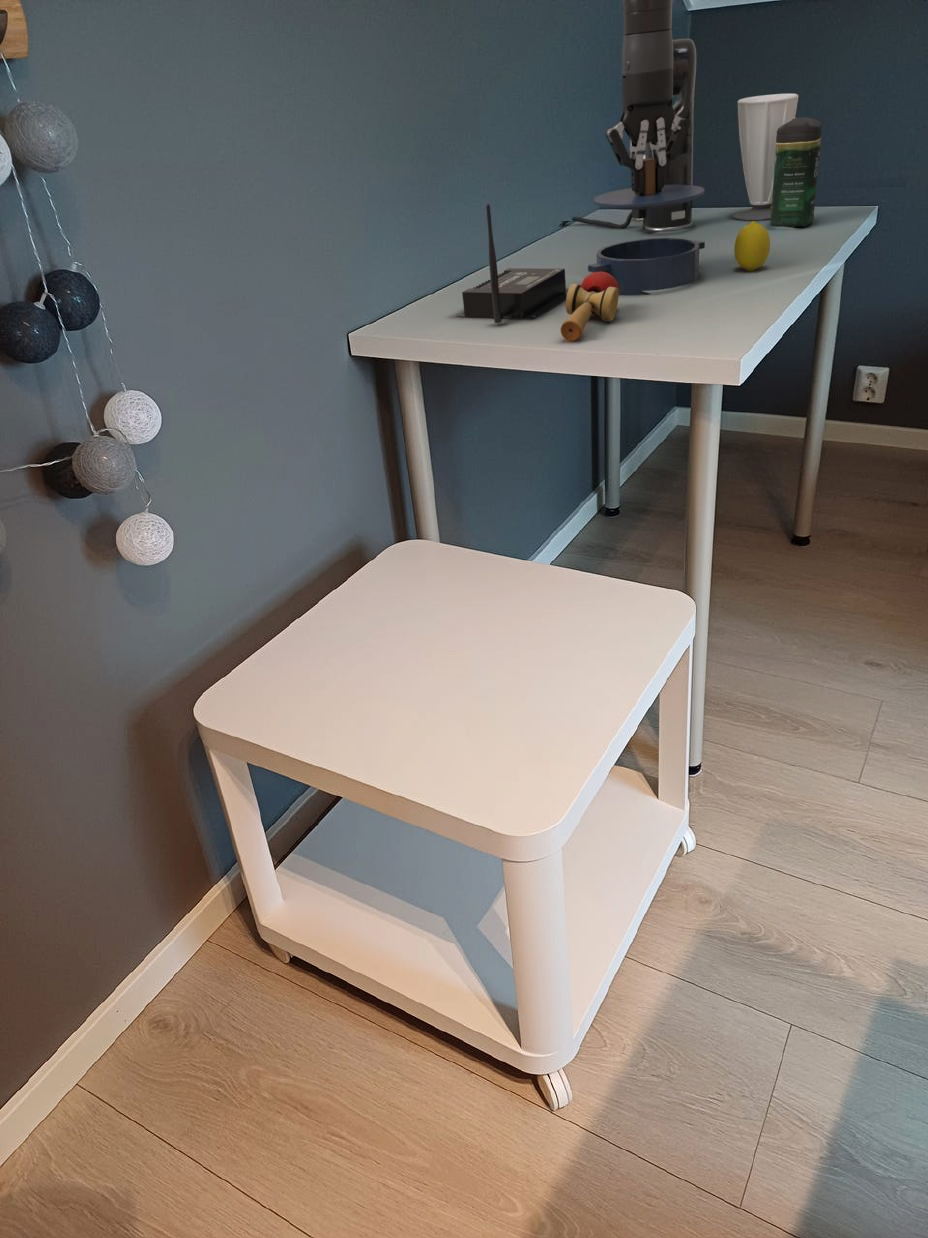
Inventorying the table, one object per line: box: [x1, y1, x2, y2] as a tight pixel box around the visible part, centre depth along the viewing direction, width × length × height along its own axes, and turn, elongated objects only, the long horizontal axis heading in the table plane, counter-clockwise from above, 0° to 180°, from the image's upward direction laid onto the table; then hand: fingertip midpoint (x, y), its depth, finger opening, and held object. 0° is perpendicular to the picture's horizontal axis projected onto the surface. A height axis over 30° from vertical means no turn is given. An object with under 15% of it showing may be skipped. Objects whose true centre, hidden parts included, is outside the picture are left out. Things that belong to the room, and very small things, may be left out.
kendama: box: [560, 272, 620, 342], centre depth 137 cm, size 8×6×18 cm
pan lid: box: [592, 158, 706, 211], centre depth 149 cm, size 17×17×6 cm
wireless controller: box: [456, 203, 568, 324], centre depth 147 cm, size 20×14×17 cm
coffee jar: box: [769, 116, 823, 229], centre depth 180 cm, size 10×8×19 cm
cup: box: [732, 93, 799, 221], centre depth 190 cm, size 12×12×22 cm
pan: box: [587, 237, 706, 296], centre depth 155 cm, size 16×22×5 cm
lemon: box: [733, 220, 771, 272], centre depth 153 cm, size 6×6×8 cm
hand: (647, 192), depth 150 cm, fingers closed on pan lid, 2 cm apart
